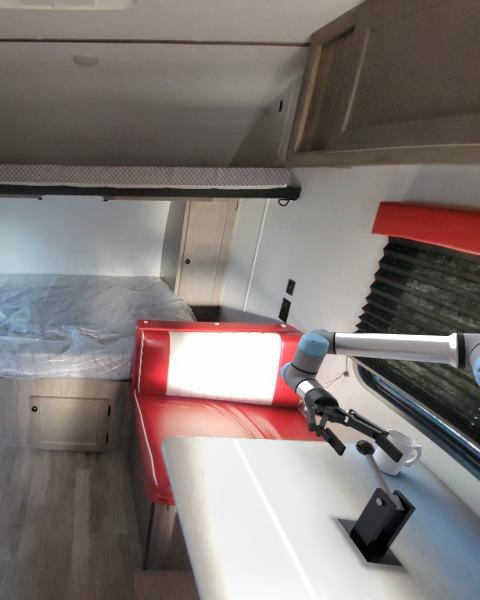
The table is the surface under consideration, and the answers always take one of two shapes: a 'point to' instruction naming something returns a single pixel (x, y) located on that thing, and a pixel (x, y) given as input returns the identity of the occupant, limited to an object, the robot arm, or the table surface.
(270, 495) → the table surface
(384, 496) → the bracket
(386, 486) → the lever
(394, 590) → the table surface
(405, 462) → the mug
